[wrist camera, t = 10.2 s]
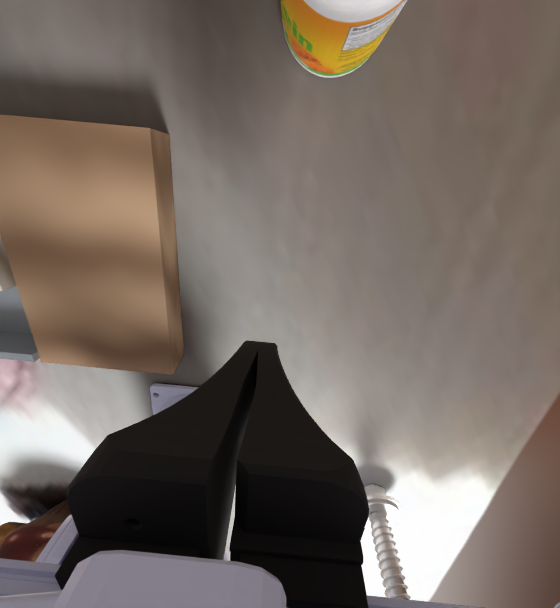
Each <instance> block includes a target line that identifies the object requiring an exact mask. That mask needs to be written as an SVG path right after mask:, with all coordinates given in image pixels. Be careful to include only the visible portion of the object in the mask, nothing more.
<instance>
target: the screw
mask: <svg viewBox="0 0 560 608" xmlns="http://www.w3.org/2000/svg"><path fill="white" fill-rule="evenodd" d="M364 489H365V492H366V495H367V499H368V505H369V517H368V520H367V523H366V526H365V528H368V529H372V536H373V537H374V539H373V542H374V544H375V545H376V546H375V550H376V552H377V553H378V554H377V559H378V560H379V561H380V562H379V568H380V569H381V570H382V571H381V577H382V578H383V579H384V580H383V586H384V587H385V588H386V590H385V595H386V597H387V598H396V599H405V600H409V599H410V596H409V595H407V592H406V589H407V588H408V587H407V586H406V585H405V584H404V581H403V580H404V579H405V577H404V576H403V575H402V573H401V571H402V567H401V566H399V562H400V559H399V558H398V557H397V555H396V554H397V553H398V551H397V550H396V549H395V547H394V546H395V544H396V543H395V542H394V541H393V540H392V538H393V534H391V533H390V531H391V527H392V526H394V525H395V524H396V523H398V521H399V520H400V518H401V517H402V514H403V511H402V507H401V505H400V503H399V502H398V501H397V500H396V499H394V498H392V497H390V496H386V493H385V489H384V488H383V487H380V486H377V485H374V484H370V485H368V486H365V487H364Z"/></svg>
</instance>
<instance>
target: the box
mask: <svg viewBox="0 0 560 608" xmlns="http://www.w3.org/2000/svg"><path fill="white" fill-rule="evenodd" d="M0 358H1V359H11V360H22V361H32V362H35V361H36V360H37V359H39V358H40V357H39V354H38V351H37V347H36V344H35V341H34V338H33V335H32V332H31V329H30V326H29V323H28V319H27V316H26V313H25V310H24V307H23V304H22V301H21V298H20V295H19V291H18V288H17V286H14V287H11V288H9V289H6V290H4V291H0Z"/></svg>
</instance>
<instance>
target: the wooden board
mask: <svg viewBox="0 0 560 608" xmlns="http://www.w3.org/2000/svg"><path fill="white" fill-rule="evenodd" d="M0 235H1V239H2V242H3V245H4V248H5V251H6V254H7V257H8V260H9V263H10V267H11V270H12V273H13V276H14V279H15V282H16V285H17V288H18V291H19V295H20V298H21V301H22V304H23V307H24V310H25V313H26V316H27V319H28V323H29V326H30V329H31V332H32V335H33V338H34V341H35V344H36V347H37V351H38V354H39V357H40V360H41V362H45V363H55V364H66V365H76V366H86V367H97V368H107V369H117V370H128V371H138V372H148V373H159V374H169V375H173V373H174V371H175V370H176V368H177V367H178V365H179V363H180V362H181V360H182V358H183V357H184V347H183V332H182V317H181V302H180V287H179V273H178V258H177V243H176V228H175V214H174V199H173V184H172V169H171V154H170V140H169V134H166V133H163V132H160V131H157V130H154V129H151V128H144V127H133V126H122V125H111V124H100V123H89V122H78V121H67V120H56V119H45V118H34V117H23V116H12V115H1V114H0Z"/></svg>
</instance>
